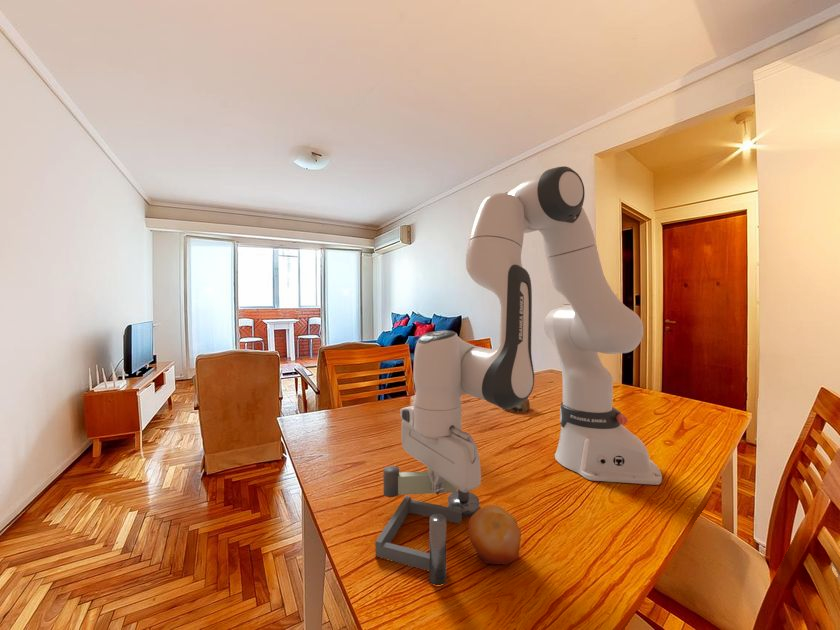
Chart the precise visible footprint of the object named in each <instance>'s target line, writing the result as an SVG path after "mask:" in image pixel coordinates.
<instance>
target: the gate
mask: <svg viewBox="0 0 840 630" xmlns="http://www.w3.org/2000/svg"><path fill="white" fill-rule="evenodd" d="M382 471H383V473H382V474H383V475H382V476H383V478H382V479H383V480H382V481H383V495H384V496H385V497H387V498H396V497H397V496H401V495H402V496H403V495H405V496H407V495H423V494H424V495H427V494H435V493H434V492H433V491H432V490H431V480H430V477H429V474H428V470H427V471H404V472H403V471H402V472H400V468H399V466H395V465H389V466H386V467H383V470H382ZM443 488H444V491H443V493H442V494H447V493H448V494H449V493H450V494H452V493H454V492H457V491H458V499H459V500H460V501H463V502H466V501H468V500H469V492H470V491H469V492H466V493H463V492H462V491H460V490H459V489H457V488H456V487H455V486H453V485H452V484H450V483H449V482H448V481H446V480H445V481H444V487H443Z"/></svg>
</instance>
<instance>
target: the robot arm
mask: <svg viewBox="0 0 840 630" xmlns="http://www.w3.org/2000/svg"><path fill="white" fill-rule="evenodd" d="M585 195H586V194H585V185H584V182H583V180H582V178H581V176H580V175H579V174H578V172H576V171H575V170H574V169H572V168H571V167H569V166H557V167H554V168H553V167H552V168H548V169H547V170H545V171H544V172H542V173H540V174H537V175H534V176H532V177H530V178H527V179H525V180H523V181H521V183H519V184H518V185H516V186H515V187H513V188H512V189H510V190H509V191H507V192H498V193H493V194H490V195H488V196H487V197H486V198H484V199H483V201H482V202H481V203H480V205H479V207H478V210H477V213H476V214H475V218H474V221H473V224H472V227H471V230H470V235H469V238H468V243H467V248H466V254H465V268H466V271H467V273H468V275H469V276H470V278H471V279H472V280H473V281H474V283H476V284H477V285H479V286H480V287H483V288H485V289H486V290H487V291H488V290H489V291H490V292H492V293H494V294H495V295H496V297H498V300H499V304H500V325H499V345H498V347H497V348H496V349H493V348H487V347H483V346H476V345H475V344H473V343H472V344H471V343H469V342H468V341H466V340H463V339H462V338H461V337H460V336H458V333H457V332H455V331H453V330H445V329H444V330H438V331H436V330H434V331H430V332H426V333H424V334H422V335H420V337H418V339H417V341H416V344H415V348H414V356H413V371H412V372H413V373H412V374H413V375H412V376H413V383H414V387H415V388H414V389H415V393H414V394H415V395H414V398H413V405H409V406H405V407H402V408H400V409H399V412H400V413H399V415H400V419H402V421H401V425H400V427H401V428H400V429H401V430H400V431H401V432H400V433H401V437H400V438H401V445H402V447H403V450H404V451H405V452H406V453H407V454H408V455H409V456H411V457H413V458H414V459H415V460H417V461H418V462H420V463H421V464H423V465H424V466H426V468H427V471H428V474H429V477H430V480H431V490H432V491H433V492H434V493H433V494H435V495H440V494H444V493H443V491H444V488H443V487H444V481H445V480H446V481H448V482H449V483H450V484H452V485H453V486H455V487H456V488H457V490H458V489H459V490H460V491H462V492H463V493H466V492H472V491H474V490H475V489H478V487H480V485H481V483H482V471H481V470H482V469H481V462H480V461H481V460H480V454H479V450H478V449H479V448H478V446H477V443H476V442H475V441H474V438H473V437H472V435H471V434H470V433H469V432H466V431H464V430H461V429H462V400H461V399H462V398H461V396H463V395H465V394H466V395H469V396H471V397H474V398H477V399H481V400H483V401H486V402H488V403H490V404H493V406H496V407H498V408H499V407H500V408H502V410H504V409H511V408H513V407H516V406H518V405H519V404H521V403H522V402H524V401H525V400H526V399H527V398H528V399H529V397H530V396H531V395H532V392H533V389H534V387H535V370H534V364H533V359H532V358H533V357H532V329H533V328H532V326H533V325H532V322H533V321H532V319H533V318H532V317H533V315H532V314H533V311H532V310H533V306H532V305H533V302H532V301H533V294H532V293H533V292H532V291H533V290H532V289H533V288H532V280H531V277H530V274H529V272H528V271H527V269H526V268H524V267H523V264H522V252H523V245H524V236H525V234H529V233H532V232H536V231H539V232H540V234H541V235H542V239H543V245H544V252H545V257H546V261H547V265H548V269H549V273H550V278H551V284H552V286H553V288H554V289H555V290H556V291H557V292H558V293H559V294H561V295H562V296H563V297H564V298H565V300H567V302H568V304H567V305H564V306H559V307H557V308H553V309H552V310H550V311H549V312H548V314H546V316H545V318H544V323H543V328H544V332H545V334H546V336H547V338H549V340H550V341H551V342H552V344H553V346H554V349H555V351H556V354H557V357H558V361H559V365H560V367H561V375H562V401H561V403H560V408H559V423H560V425H561V427H560V434H559V438H558V439H559V440H558V444H557V448H556V451H555V454H554V458H555V460H556V462H557V463H559V465H561V466H563V467H564V468H567V469H569V470H571V471H573V472H576V473H577V474H579V475H580V476H582V477H583V478H585V479H586V480H589V481H595V482H596V481H597V482H609V483H624V484H625V483H626V484H638V485H651V486H652V485H653V486H654V485H656V486H658V485H660V484H661V483H662V482H663V477H662V476H663V475H662V472H661V470H660V468H659V466H658V465H657V464H655V462H654V461H652V460H651V459H650V456H649V452H648V449H647V446H646V445H645V444H644V442H643V441H642V440H641V439H640V438H639V437H638V436H636V435H635V434H634V433H632V432H631V431H630V430H629V429H627V428H626V427H625V425H627V424H628V422H629V419H628V418H627V417H626V415H625V414H622V412H621V411H620V410H618V409H617V408H616V407H613V401H614V399H613V392H614V389H613V387H614V386H613V385H614V383H613V382H614V379H613V376H612V374H611V373H610V371H609V369H607V368H606V367H605V366H604V365H603V363H602V361H601V359H600V356H599V353H600V354H601V353H602V354H605V355H606V354H608V355H609V354H610V355H612V354H615V355H616V354H628V353H630V352H632V351H634V350H636V349H637V347H638V346H639V345H640V343H641V342H642V339H643V337H644V324H643V322H642V321H643V320H642V319H641V317H640V315H638V314H637V313H636V312H635V311H634V310H632V309H631V308H629V307H627V306H626V305H625V304H624V303H623V302H622V301H621V300H620V299H619V297H618V296H617V295H616V293H615V292H614V291H613V290H612V288H611V286H610V284H609V282H608V280H607V279H606V276H605V274H604V272H603V271H604V270H603V267H602V263H601V259H600V254H599V250H598V246H597V243H596V242H597V241H596V238H595V235H594V231H593V229H592V225H591V223H590V220H589V218H588V216H587V213H586V211H585V209H584V208H583V207H584V206H583V205H584V201H585Z"/></svg>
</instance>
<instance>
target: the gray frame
mask: <svg viewBox="0 0 840 630" xmlns="http://www.w3.org/2000/svg"><path fill="white" fill-rule="evenodd" d="M409 514H413V515H414V514H415V515H418V516H419V515H420V516H423V517H427V518H430V517H431V516H432V515H434V514H441V515H444V516H445V517H446V522H451V523H455V524H460V525H461V524H462V520H463V519H462V518H463V517H462V510H460V509H455V508H450V507H448V506H444V505H440V504H435V503H430V502H425V501H421V500H420V501H419V500H415V499H412V498H411V496H410V495H408V496H407V495H405V496H404V498H403V499H402V501H401V502H400V504H399V506H398V507H397V509H396V510H395V511H394V513H393V515H392V516H391V517H390V519H389V520H388V522H387V523H386V525H385V526H384V528H383V529H382V531H381V532H380V534H379V535H378V537H377V538H376V540H375V549H374V550H375V557H376V556H378V557H382V558H385V559H389V560H392V561H391V562H393V561H395V562H394V563H396V562H398V563H397V564H400V563H402V564H401V565H403V564H406V565H405V566H407V565H409V566H408V567H411V566H413V567H412V568H414V567H417V568H416V569H418V568H422V569H425V570H429V571H430V552H426V551H421V550H418V549H414V548H410V547H406V546H403V545H397V544H395V543H392V541H393V539H394V538H395V536H396V535H397V533H398V531H399V530H400V528H401V527H402V525H403V523H404V521H405V520H406V519H407V516H408V515H409ZM378 557H377V558H378ZM382 558H381V559H382ZM385 559H384V560H385ZM389 560H388V561H389ZM422 569H421V570H422ZM425 570H424V571H425ZM429 571H428V572H429Z"/></svg>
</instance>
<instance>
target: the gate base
mask: <svg viewBox="0 0 840 630" xmlns="http://www.w3.org/2000/svg"><path fill="white" fill-rule="evenodd" d="M447 500H448V501H447V507H450V508H455V509H460V510H462V518H471V516H472V515H473V514H474V513H475V512H476V511H477V510H478V509H480V499H479V497H478V496H477V495H476V494H475V493H472V492H471V491H469V500H468V501H466V502H463V501H460V500H459V499H458V490H457V492H454V493H450V494H449V495H448V497H447Z"/></svg>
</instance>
